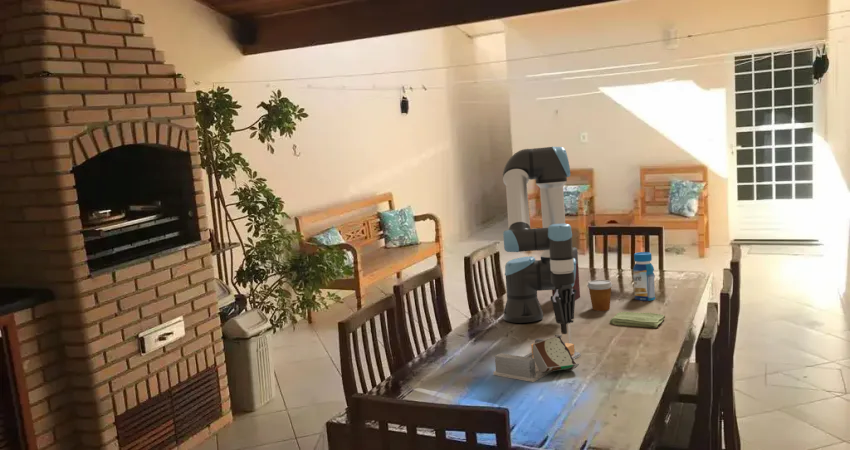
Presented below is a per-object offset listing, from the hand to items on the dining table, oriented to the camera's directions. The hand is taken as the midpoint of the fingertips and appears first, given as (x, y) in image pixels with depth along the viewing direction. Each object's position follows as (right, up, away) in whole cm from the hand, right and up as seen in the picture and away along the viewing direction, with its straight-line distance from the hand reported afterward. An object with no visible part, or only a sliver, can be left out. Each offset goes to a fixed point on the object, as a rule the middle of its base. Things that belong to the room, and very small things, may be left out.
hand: (566, 342), depth 227 cm
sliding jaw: (-6, -2, -6) cm, 9 cm away
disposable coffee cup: (+23, +4, +46) cm, 52 cm away
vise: (-11, -5, -13) cm, 18 cm away
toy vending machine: (+14, +5, +66) cm, 68 cm away
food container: (-13, -2, -21) cm, 25 cm away
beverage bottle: (+44, +7, +58) cm, 73 cm away
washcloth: (+32, +2, +27) cm, 41 cm away
